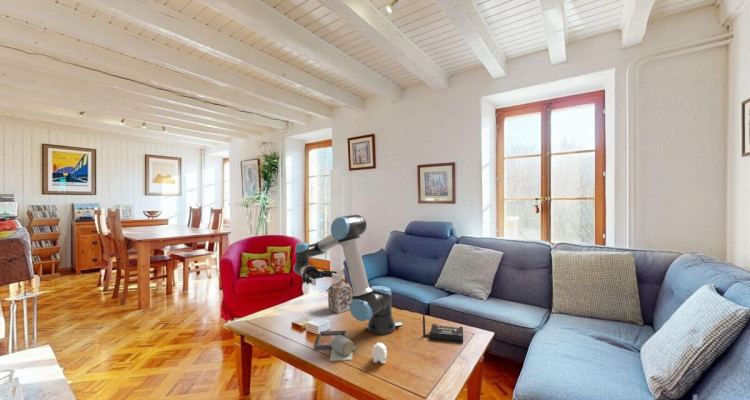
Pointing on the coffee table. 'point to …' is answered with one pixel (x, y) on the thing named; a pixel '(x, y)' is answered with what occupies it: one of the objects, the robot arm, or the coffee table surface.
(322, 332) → the square frame
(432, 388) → the coffee table surface
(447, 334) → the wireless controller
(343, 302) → the decorative jar
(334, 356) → the grey-green mat
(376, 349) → the white figurine
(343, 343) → the ceramic mug
